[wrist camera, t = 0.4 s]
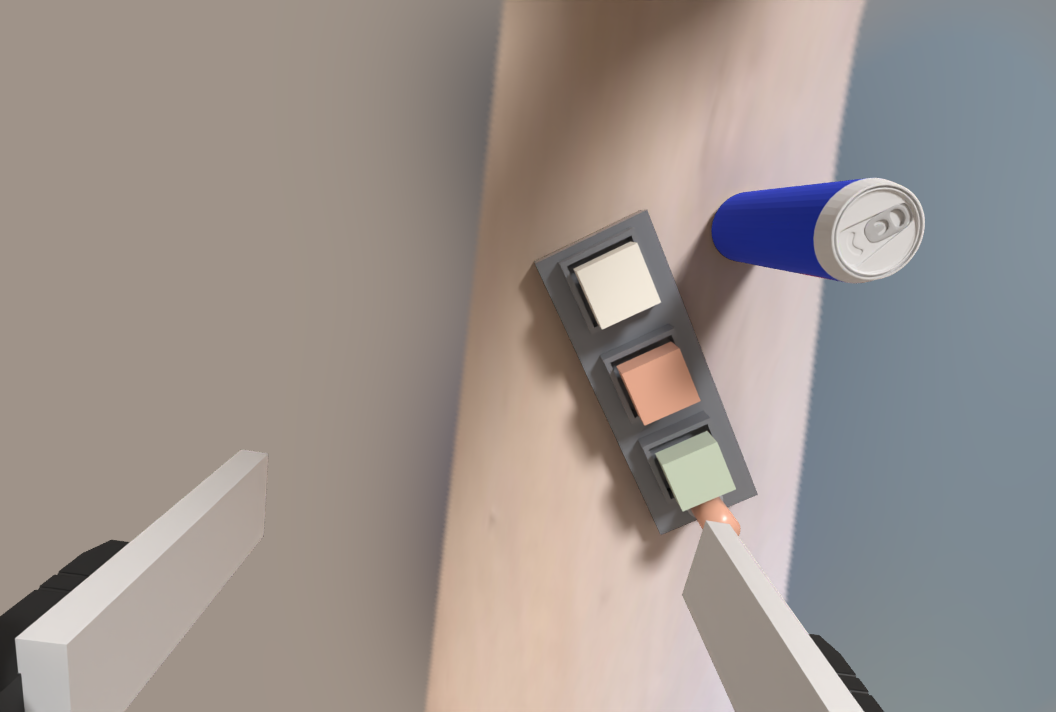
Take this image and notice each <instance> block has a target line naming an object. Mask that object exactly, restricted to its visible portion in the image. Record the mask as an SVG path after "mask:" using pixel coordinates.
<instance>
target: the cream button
mask: <svg viewBox="0 0 1056 712" xmlns="http://www.w3.org/2000/svg"><path fill="white" fill-rule="evenodd" d="M574 272H575V274H576V276H577V278H578V281H579V283H580V285H581V287H582V290H583V292H584V294H585V297H586V299H587V301H588V303H589V306H590V308H591V310H592V312H593V315H594V317H595V319H596V321H597V324H598V325H599V326H600V327H601V329H605V328H607V327H609V326H611V325H613V324H615V323H618V322H620V321H622V320H624V319H626V318H628V317H631V316H633V315H635V314H637V313H639V312H641V311H644V310H646V309H648V308H650V307H652V306H654V305H657V304H659V303H661V301H660V298H659V296H658V293H657V291H656V288H655V286H654V283H653V281H652V278H651V276H650V273H649V271H648V268H647V266H646V263H645V261H644V258H643V256H642V253H641V251H640V248H639V246H638V243H636V242H631V241H630V242H628V243H626V244H624V245H622V246H620V247H618V248H616V249H614V250H612V251H609V252H607V253H605V254H603V255H601V256H599V257H597V258H595V259H593V260H591V261H588V262H586V263H584V264H582V265H580V266H578V267H576V268H574Z"/></svg>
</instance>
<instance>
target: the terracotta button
mask: <svg viewBox="0 0 1056 712" xmlns="http://www.w3.org/2000/svg"><path fill="white" fill-rule="evenodd" d="M616 367H617V369H618V371H619V373H620V376H621V378H622V380H623V382H624V385H625V387H626V389H627V391H628V394H629V396H630V398H631V400H632V403H633V405H634V407H635V409H636V412H637V414H638V416H639V417H640V419H641V421H642V422H643V424H644V425H647V424H649V423H652V422H654V421H656V420H659V419H661V418H663V417H665V416H668V415H670V414H672V413H675V412H677V411H679V410H681V409H684V408H686V407H688V406H691V405H693V404H695V403H697V402H700V401H701V400H700V398H699V395H698V393H697V390H696V388H695V386H694V383H693V381H692V378H691V376H690V373H689V371H688V368H687V366H686V363H685V361H684V358H683V356H682V353H681V351H680V348H679V347H677V346H676V345H675V344H674V343H672V342H668V343H666V344H664V345H662V346H660V347H657V348H655V349H653V350H651V351H648V352H646V353H644V354H642V355H640V356H637V357H635V358H633V359H631V360H629V361H626V362H624V363H622V364H620V365H618V366H616Z"/></svg>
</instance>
